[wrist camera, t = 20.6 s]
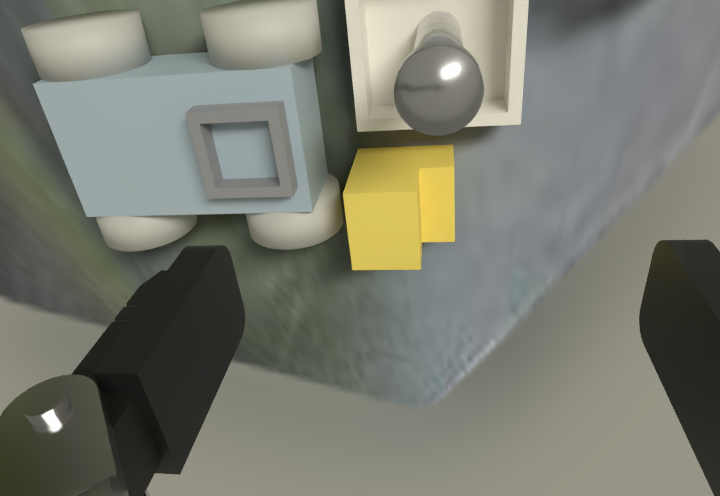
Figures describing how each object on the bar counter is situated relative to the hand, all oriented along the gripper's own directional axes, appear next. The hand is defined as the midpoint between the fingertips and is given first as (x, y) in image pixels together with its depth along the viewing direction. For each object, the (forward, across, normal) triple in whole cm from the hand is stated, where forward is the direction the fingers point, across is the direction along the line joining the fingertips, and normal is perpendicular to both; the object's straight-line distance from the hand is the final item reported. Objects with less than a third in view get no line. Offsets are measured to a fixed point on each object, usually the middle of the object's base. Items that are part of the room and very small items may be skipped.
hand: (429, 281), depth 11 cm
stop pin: (+23, 0, 0) cm, 23 cm away
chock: (+24, +2, +9) cm, 26 cm away
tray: (+24, 0, 0) cm, 24 cm away
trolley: (+24, +14, +4) cm, 28 cm away
